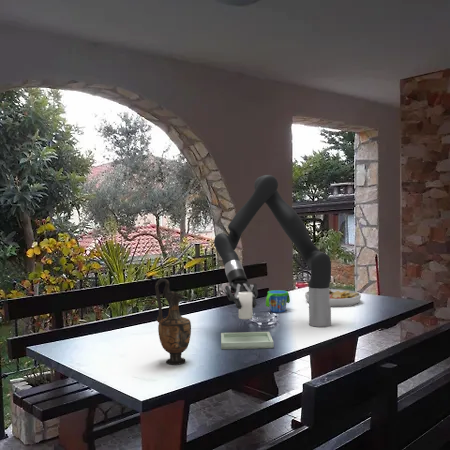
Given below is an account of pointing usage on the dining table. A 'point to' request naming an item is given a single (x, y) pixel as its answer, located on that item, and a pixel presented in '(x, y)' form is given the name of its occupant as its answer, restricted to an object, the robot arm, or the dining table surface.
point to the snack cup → (277, 300)
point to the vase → (172, 326)
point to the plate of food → (341, 297)
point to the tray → (246, 340)
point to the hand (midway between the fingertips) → (247, 307)
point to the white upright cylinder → (245, 305)
